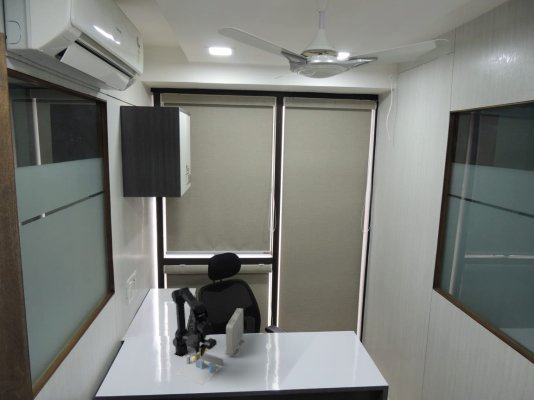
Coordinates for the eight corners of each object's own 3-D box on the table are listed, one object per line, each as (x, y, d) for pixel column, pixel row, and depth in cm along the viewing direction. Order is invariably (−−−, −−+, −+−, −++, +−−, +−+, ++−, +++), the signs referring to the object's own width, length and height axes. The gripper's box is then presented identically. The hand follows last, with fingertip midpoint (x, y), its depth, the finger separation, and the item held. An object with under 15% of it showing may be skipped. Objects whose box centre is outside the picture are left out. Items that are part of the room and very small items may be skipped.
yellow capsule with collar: (195, 362, 177) (194, 357, 177) (191, 360, 179) (190, 356, 178) (208, 351, 187) (208, 347, 187) (204, 350, 188) (204, 346, 188)
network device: (236, 360, 198) (236, 327, 196) (221, 358, 200) (221, 326, 197) (246, 337, 223) (246, 308, 221) (233, 336, 225) (233, 306, 222)
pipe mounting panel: (174, 375, 185) (173, 366, 184) (195, 357, 201) (195, 348, 200) (202, 385, 176) (202, 376, 175) (223, 366, 192) (222, 357, 192)
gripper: (174, 330, 178) (175, 358, 180) (203, 338, 170) (204, 368, 171) (189, 321, 188) (190, 348, 190) (216, 328, 179) (217, 357, 181)
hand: (199, 355), depth 183 cm, fingers closed on yellow capsule with collar, 2 cm apart
